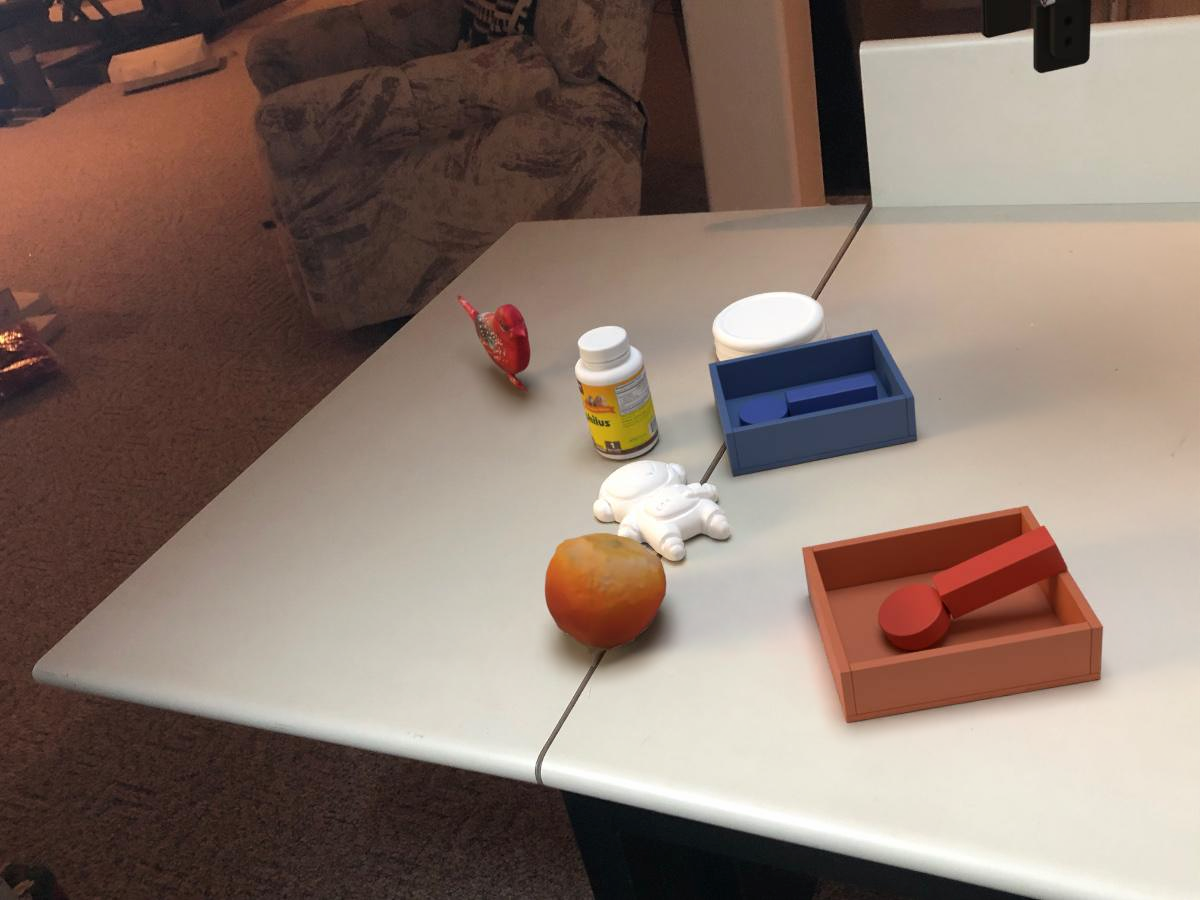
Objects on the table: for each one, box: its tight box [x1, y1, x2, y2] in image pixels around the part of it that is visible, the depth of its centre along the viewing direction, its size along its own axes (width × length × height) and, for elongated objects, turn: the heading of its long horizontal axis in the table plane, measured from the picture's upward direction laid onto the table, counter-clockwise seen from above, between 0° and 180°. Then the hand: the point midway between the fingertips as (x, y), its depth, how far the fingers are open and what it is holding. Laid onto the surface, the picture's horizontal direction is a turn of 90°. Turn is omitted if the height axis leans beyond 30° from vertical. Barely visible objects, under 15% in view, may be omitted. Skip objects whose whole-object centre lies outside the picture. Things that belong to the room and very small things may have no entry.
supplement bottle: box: [574, 325, 660, 460], centre depth 88 cm, size 6×6×10 cm
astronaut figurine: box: [592, 459, 731, 562], centre depth 81 cm, size 9×12×3 cm
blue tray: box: [708, 328, 918, 477], centre depth 87 cm, size 14×11×4 cm
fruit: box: [544, 532, 667, 669], centre depth 71 cm, size 8×8×8 cm
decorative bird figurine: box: [456, 294, 531, 393], centre depth 103 cm, size 3×18×10 cm, turn 28°
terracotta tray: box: [801, 505, 1104, 723], centre depth 65 cm, size 14×11×4 cm
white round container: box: [711, 291, 828, 361], centre depth 98 cm, size 10×10×4 cm
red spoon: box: [878, 525, 1069, 650], centre depth 64 cm, size 11×4×2 cm, turn 92°
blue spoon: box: [738, 374, 878, 427], centre depth 87 cm, size 11×4×2 cm, turn 92°
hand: (1031, 49), depth 71 cm, fingers open, 9 cm apart
